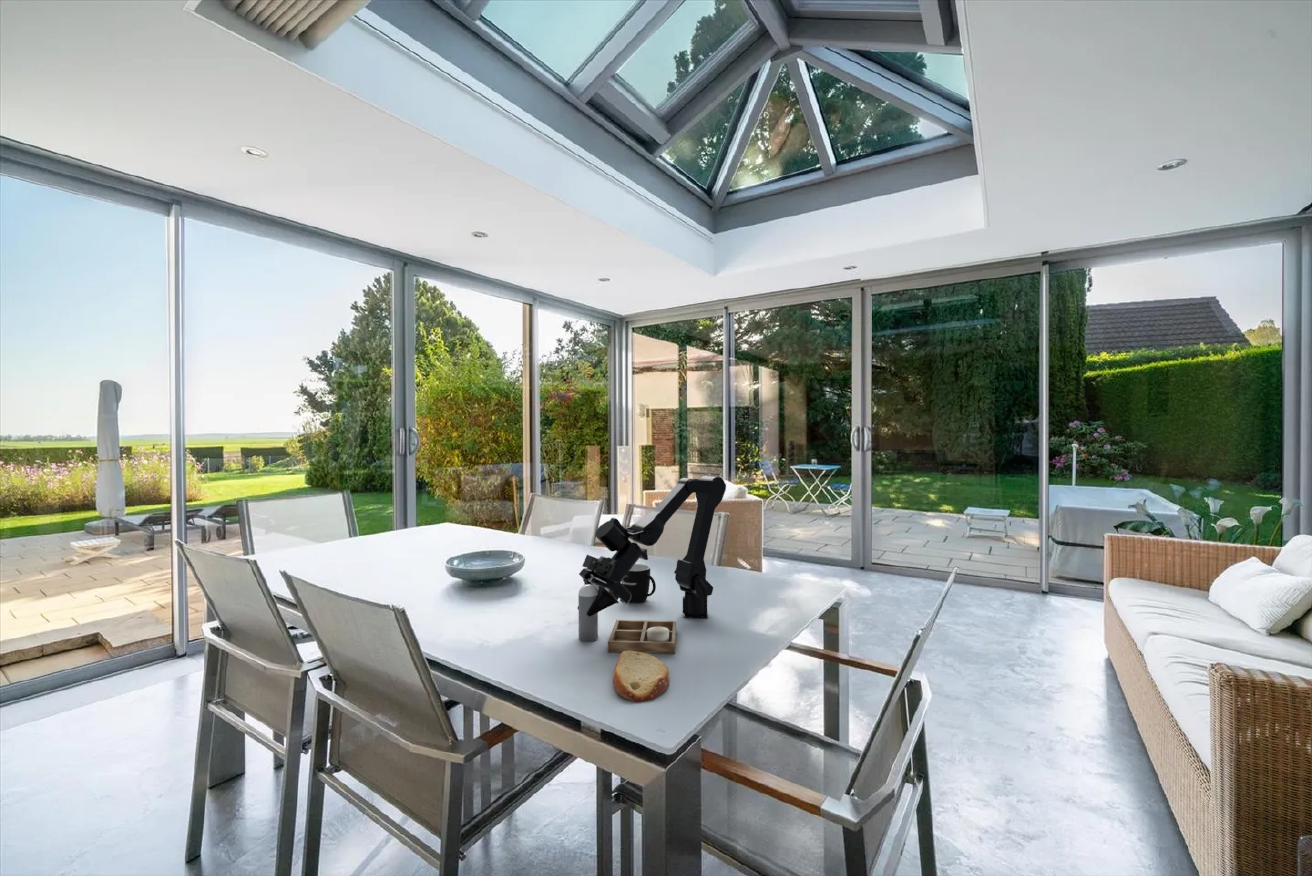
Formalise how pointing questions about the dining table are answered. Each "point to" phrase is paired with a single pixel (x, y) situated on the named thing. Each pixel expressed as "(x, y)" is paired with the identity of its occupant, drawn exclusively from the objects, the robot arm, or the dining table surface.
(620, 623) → the caddy
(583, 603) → the grey rounded cylinder
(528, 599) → the dining table surface
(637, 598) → the mug
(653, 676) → the slice of bread
